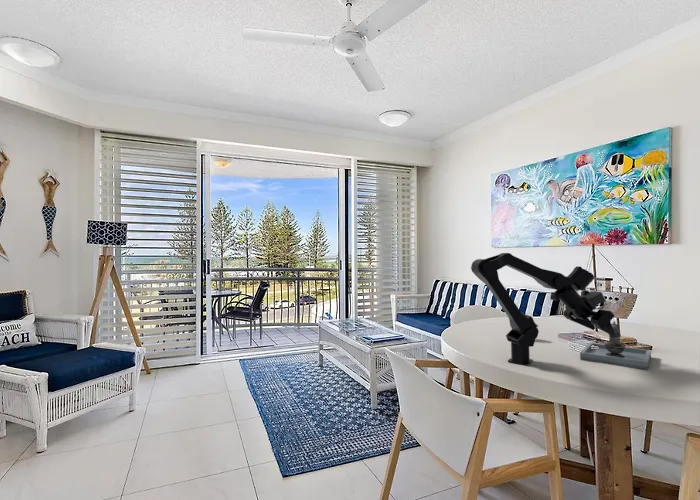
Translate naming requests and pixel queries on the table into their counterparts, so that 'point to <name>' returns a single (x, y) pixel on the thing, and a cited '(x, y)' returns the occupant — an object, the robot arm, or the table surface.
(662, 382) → the table surface
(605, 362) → the tray
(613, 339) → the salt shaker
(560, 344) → the table surface
